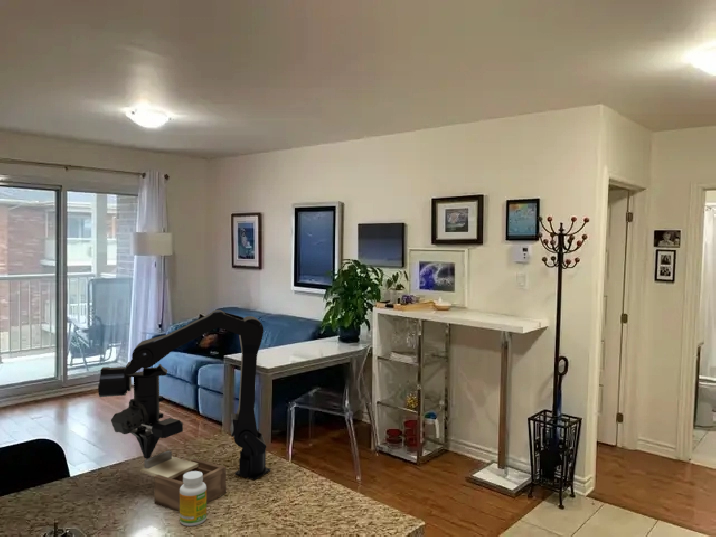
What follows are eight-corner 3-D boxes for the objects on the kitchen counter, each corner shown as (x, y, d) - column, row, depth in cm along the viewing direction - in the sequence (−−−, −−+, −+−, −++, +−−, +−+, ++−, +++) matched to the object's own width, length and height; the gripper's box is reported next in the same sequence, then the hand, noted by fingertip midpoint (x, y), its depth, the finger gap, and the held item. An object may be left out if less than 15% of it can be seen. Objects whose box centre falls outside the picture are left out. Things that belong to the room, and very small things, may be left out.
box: (194, 483, 134) (194, 458, 134) (225, 493, 129) (225, 466, 129) (154, 503, 123) (154, 476, 123) (186, 514, 118) (186, 486, 118)
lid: (171, 459, 135) (171, 449, 135) (198, 466, 131) (198, 456, 131) (140, 472, 127) (140, 461, 127) (167, 480, 123) (167, 469, 123)
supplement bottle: (198, 527, 113) (198, 481, 112) (174, 525, 114) (174, 478, 114) (210, 515, 118) (210, 470, 118) (187, 512, 119) (187, 468, 119)
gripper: (91, 396, 130) (92, 461, 131) (145, 408, 121) (145, 478, 121) (131, 386, 140) (132, 447, 140) (184, 396, 131) (184, 461, 131)
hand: (147, 458), depth 133 cm, fingers closed
